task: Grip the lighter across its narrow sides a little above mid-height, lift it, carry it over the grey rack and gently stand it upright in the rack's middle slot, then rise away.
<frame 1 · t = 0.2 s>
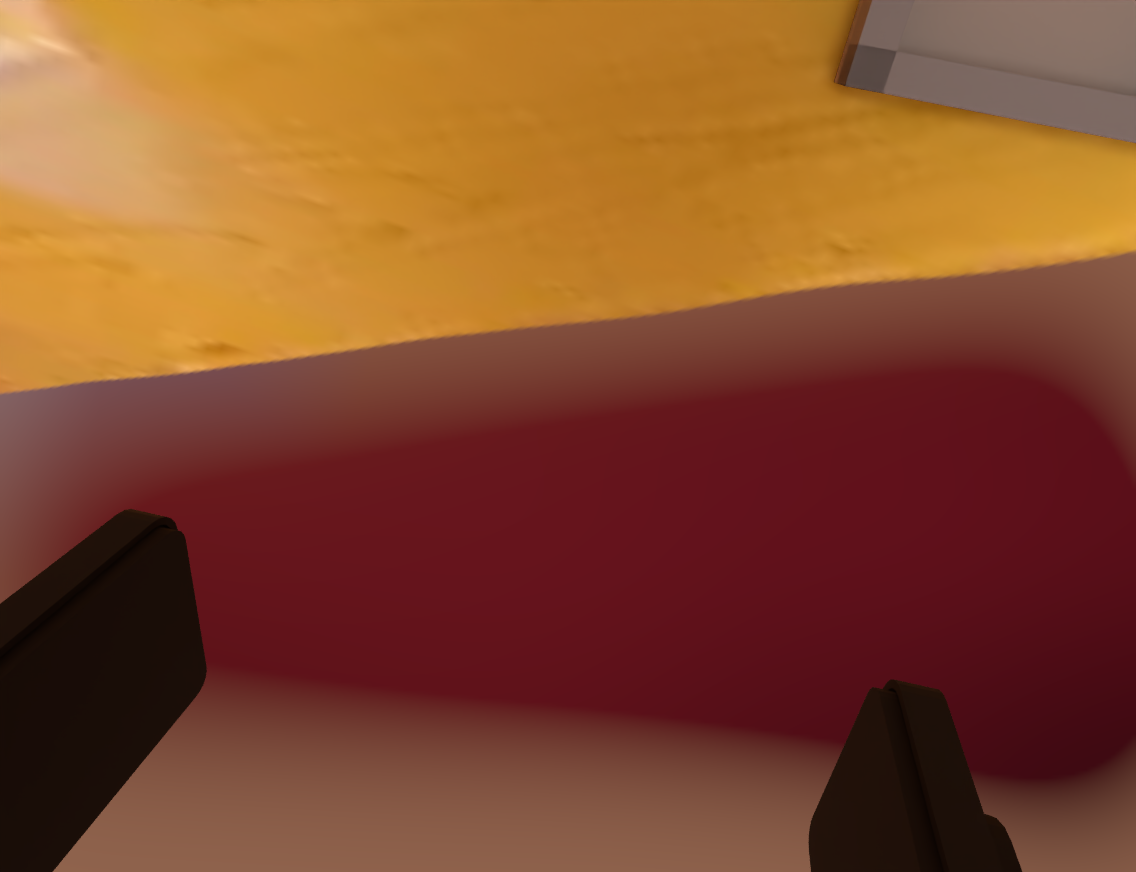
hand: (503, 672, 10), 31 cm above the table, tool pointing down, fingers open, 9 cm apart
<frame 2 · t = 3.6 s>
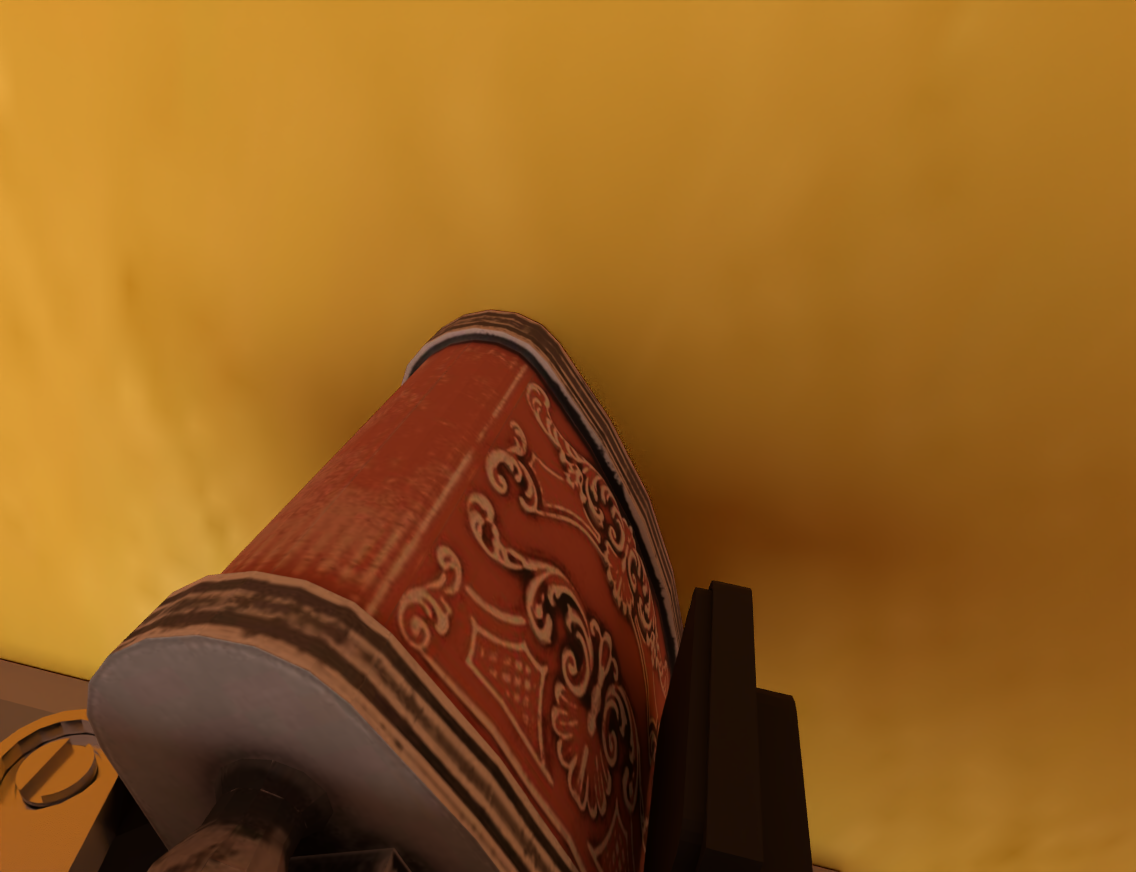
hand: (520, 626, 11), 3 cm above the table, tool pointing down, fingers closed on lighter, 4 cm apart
lighter: (562, 512, 14), on the table, touching gripper
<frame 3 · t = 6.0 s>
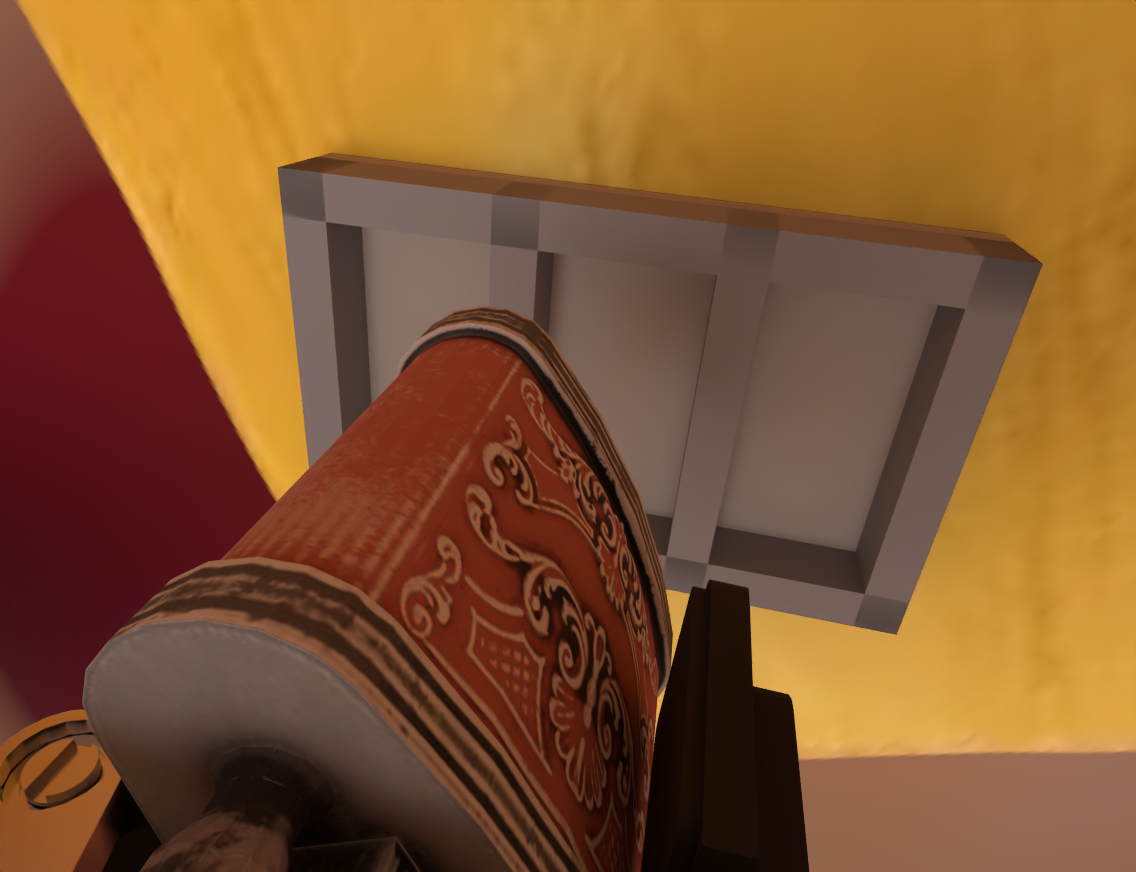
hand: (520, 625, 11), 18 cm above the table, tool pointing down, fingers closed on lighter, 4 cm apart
lighter: (552, 509, 14), point 15 cm above the table, touching gripper
rack: (622, 376, 28), on the table
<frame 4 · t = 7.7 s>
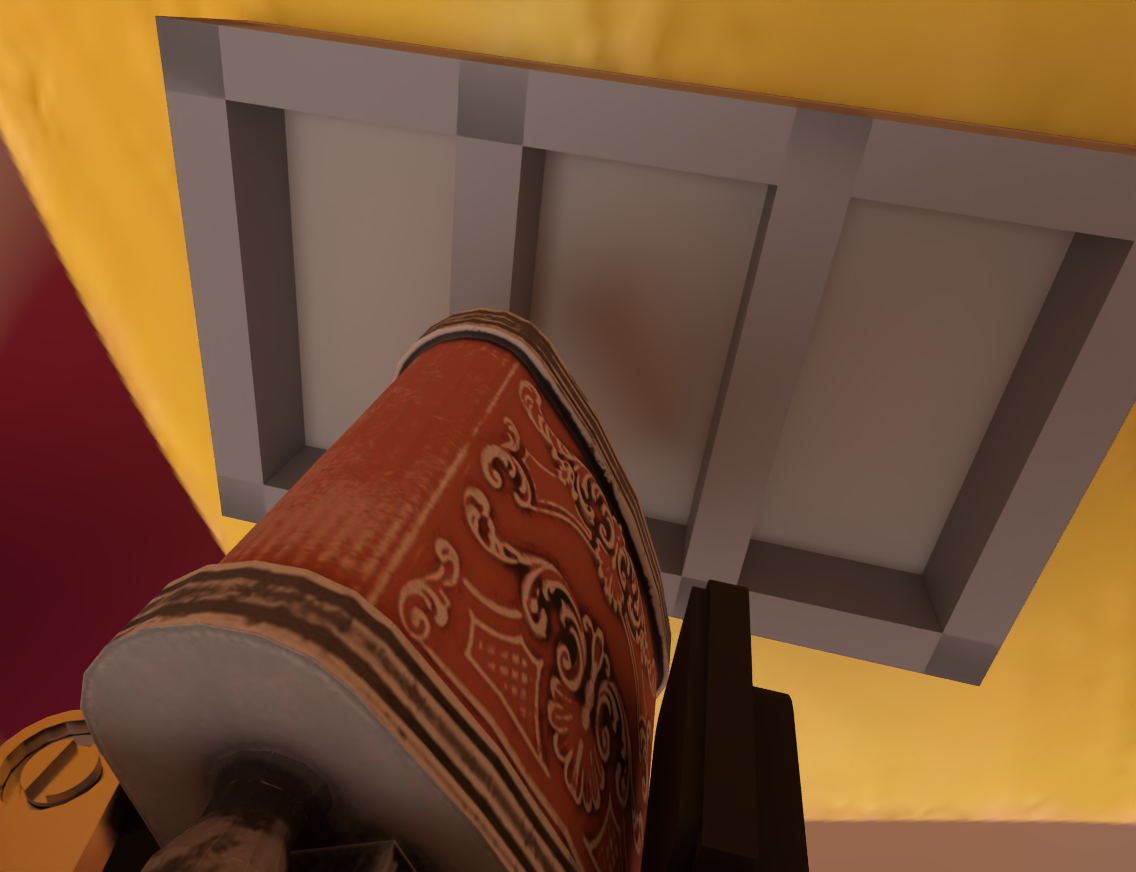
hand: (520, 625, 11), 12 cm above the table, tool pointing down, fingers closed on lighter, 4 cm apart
lighter: (550, 511, 14), point 9 cm above the table, touching gripper
rack: (629, 338, 21), on the table
when the fingers open (5 cm above the table, at t = 9.6 s): lighter stays where it is, resting on rack.
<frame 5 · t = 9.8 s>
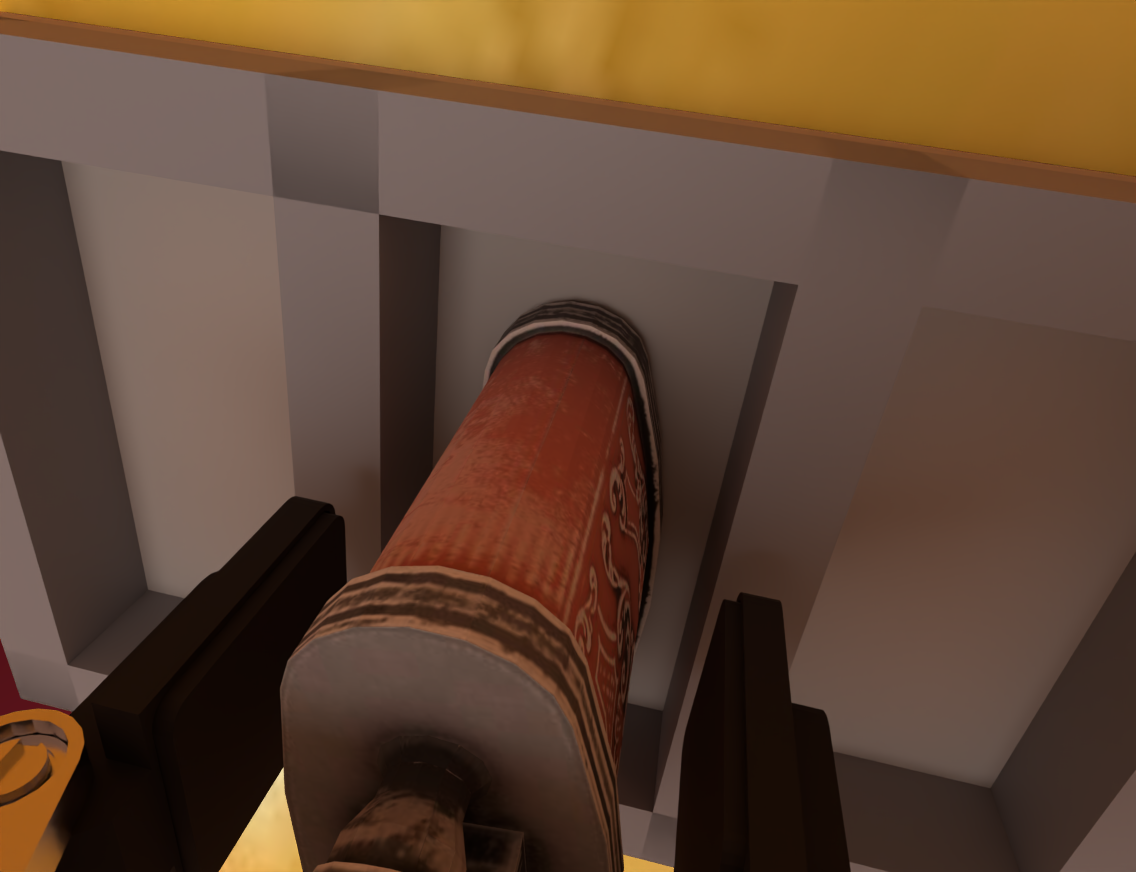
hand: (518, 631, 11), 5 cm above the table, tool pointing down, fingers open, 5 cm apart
lighter: (575, 497, 14), point 1 cm above the table, touching rack
rack: (578, 463, 15), on the table
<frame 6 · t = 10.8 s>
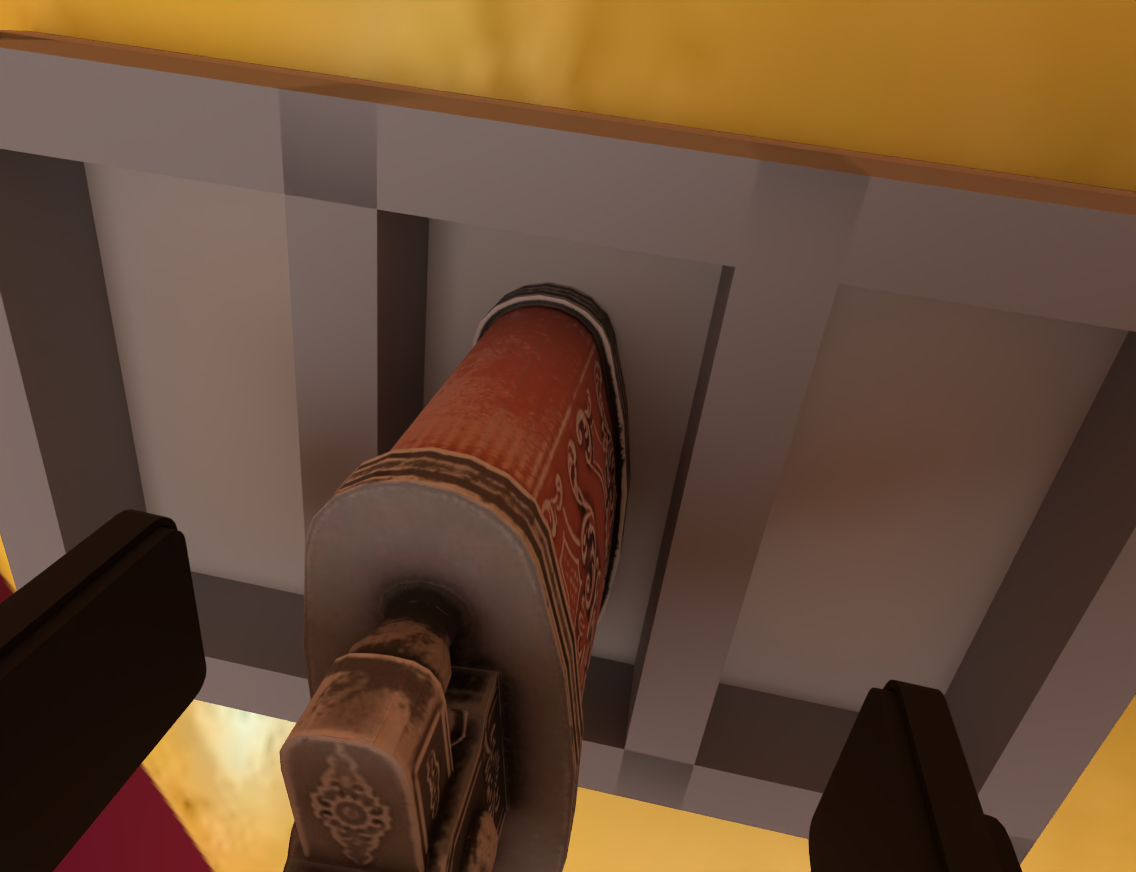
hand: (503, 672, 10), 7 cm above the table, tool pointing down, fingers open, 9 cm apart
lighter: (553, 463, 16), point 1 cm above the table, touching rack
rack: (554, 437, 17), on the table
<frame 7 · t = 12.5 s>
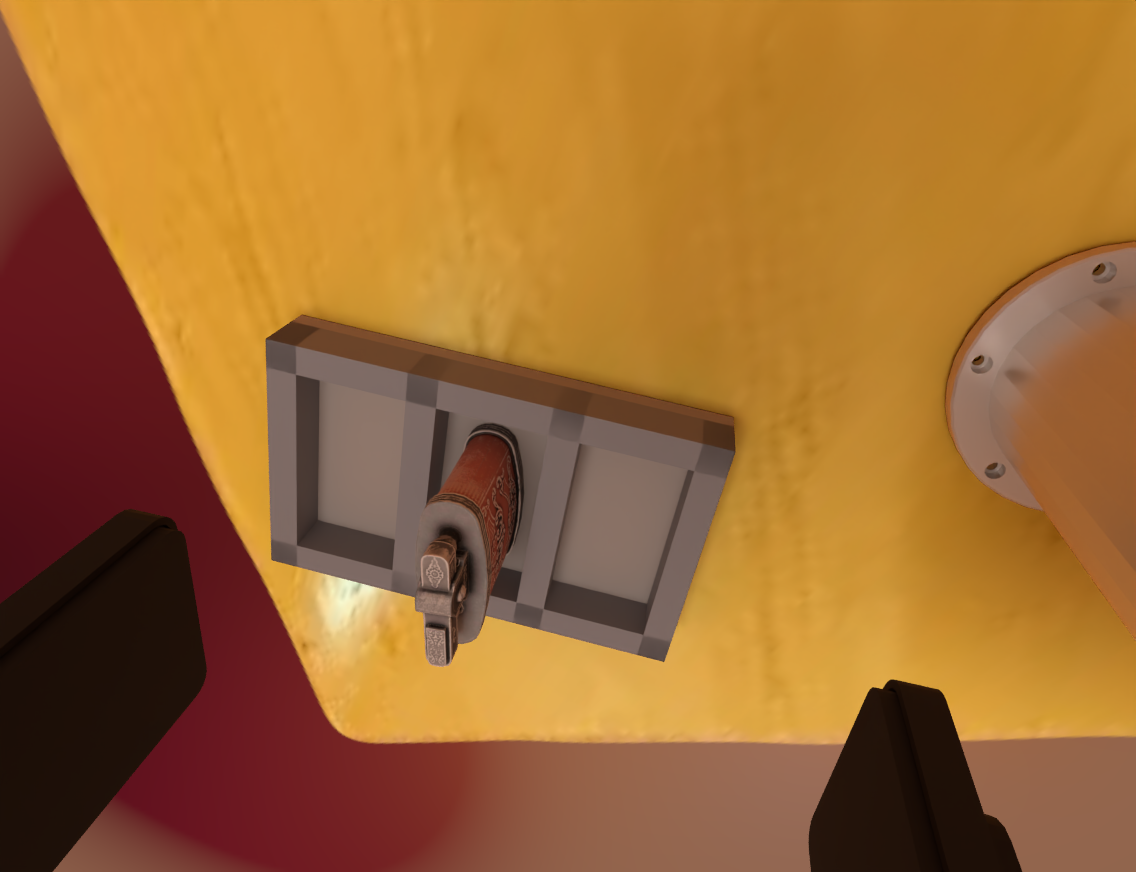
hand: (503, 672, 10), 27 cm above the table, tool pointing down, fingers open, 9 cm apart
lighter: (494, 487, 40), point 1 cm above the table, touching rack
rack: (496, 476, 41), on the table
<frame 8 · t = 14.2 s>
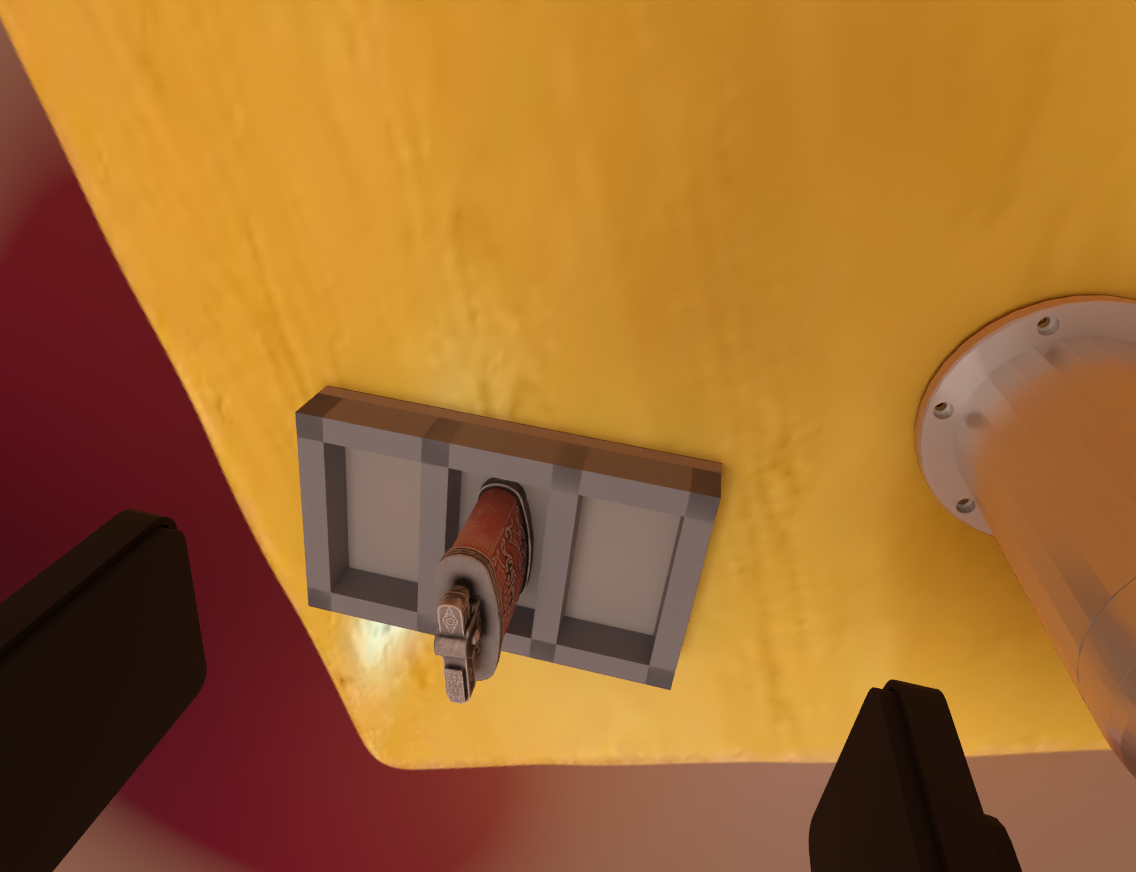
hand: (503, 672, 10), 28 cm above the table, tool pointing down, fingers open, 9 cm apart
lighter: (506, 533, 44), point 1 cm above the table, touching rack
rack: (508, 522, 44), on the table
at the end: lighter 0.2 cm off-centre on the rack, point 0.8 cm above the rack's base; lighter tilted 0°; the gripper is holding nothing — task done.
